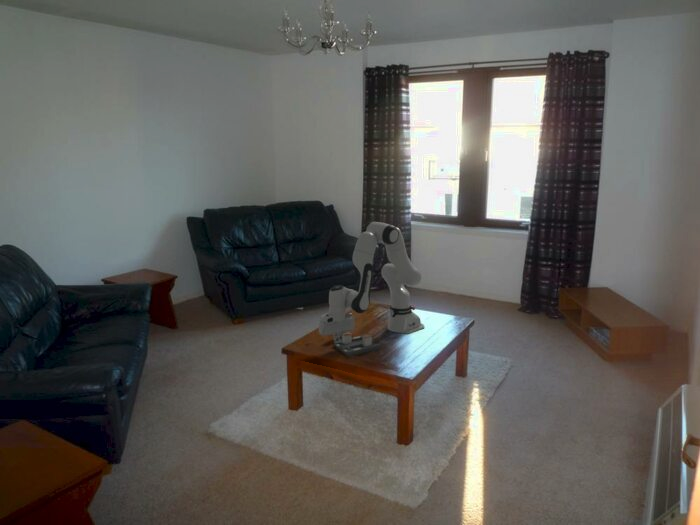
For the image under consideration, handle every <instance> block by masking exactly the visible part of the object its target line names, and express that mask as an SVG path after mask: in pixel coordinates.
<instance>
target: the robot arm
mask: <svg viewBox="0 0 700 525" xmlns="http://www.w3.org/2000/svg"><path fill="white" fill-rule="evenodd" d="M378 244H384V247H385V251H386V256H387V261H388V262H390V263H385V264H384V265H383V266H382V267H381V271H380V272H381V273H380V275H381V277H382V279H384V282H386V284H387V287H388V288H389V292H390V305H389V320H388V326H387V329H388V331H390V332H393V333H398V334H401V333H402V334H412V333H414V332H416V331H419V330H420V331H421V330H423V329H425V328H426V327H425V325H424V323H422V321H421V317H420V316H419V315H417V314H416V313H415V312H413V311H415V310H416V306H413V305H410V303H411V302H410V300H411V298H410V297H411V294H410V292H409V290H408V289H407V288H406V287H405V286H408V287H411V286H412V287H413V286H414V287H415V286H417V285H420V282H421V280H422V273H421V271H420V270H419V269H418V268H417V267H416V266H415V265H414V264H413V263H412V261H411V259H410V258H409V256H408V253H407V248H406V245H405V239H404V236H403V234H402V232H401V229H400V228H399V227H397V226H395V225H392V224H389V223H385V222H380V221H374V220H373V221H372V220H370V221H368V222H366V223H365V225H364V226H363V228H362V232H361V233H360V234H359V236H358V238H357V241H356V243H355V246H354V249H353V253H352V262H353V265H354V266H355V268H357V271H358V272H359V274H360V281H359V288H358V291H357V290H355V289H353V288H351V289H350V288H347V287H346V286H344V285H340V284H338V285H337V284H336V285H333V286H332V287H331V288H330V289H329V292H328V304H329V307H328V308H329V309H328V311H327V312H326V313H324V314H321V315H320V318H319V319H320V321H319V323H318V324H319V325H318V334H319V335H321V336H322V337H325V336H329V335H332V337H334V338H333V340H334V341H333V342H335V341H337V340H340V337H341V335H342V332H345V331H347V332H350V331H354V329H355V315H354V314H353V313H351V312H350V313H346V309H347V308H348V309H351V310H352V311H354V312H355V313H357V314H363V313H365V312H366V311H367V310H368V309H369V307H370V304H371V290H372V284H373V278H374V266H373V265H374V264H373V263H374V257H375V253H376V248H377V245H378ZM336 333H339V334H338V336H337V337H336V336H335V335H336Z"/></svg>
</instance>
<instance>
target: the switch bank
mask: <svg viewBox="0 0 700 525" xmlns="http://www.w3.org/2000/svg"><path fill="white" fill-rule="evenodd" d="M362 336H363V335H360V336H354V337H352V343H348V344H344V343H342V340H340V341H333V347H334V348H336V349H338V350H339V351H340V352H341V353H342V354H344V355H345V356H347V357H352V356H357V355H361V354H367V353H370V352H374V351H379V350H381V347H382V346H381V344H380V343H376V341H375V340H374V339H372V345H370V346H365V347H364V346H363V337H362Z"/></svg>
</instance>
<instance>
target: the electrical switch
mask: <svg viewBox="0 0 700 525" xmlns="http://www.w3.org/2000/svg"><path fill="white" fill-rule="evenodd" d="M347 332H348V331H345V332H342V334H343V333H347ZM338 334H339V333H336V335H335V336H336V337H337V336H338ZM332 337H333V336H332ZM333 339H334V337H333ZM340 340H342V335H341V337H340ZM340 340H337V341H340Z"/></svg>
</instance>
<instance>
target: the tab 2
mask: <svg viewBox="0 0 700 525" xmlns="http://www.w3.org/2000/svg"><path fill="white" fill-rule="evenodd" d="M361 336H362V337H363V346H364V347H365V346H370V345H372V340H373V336H372V335H371V334H363V335H361Z"/></svg>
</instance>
